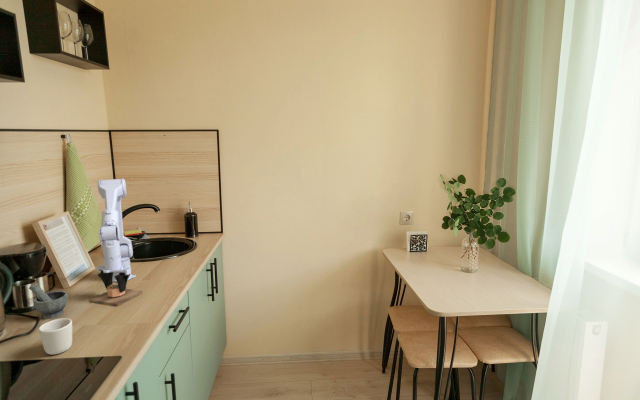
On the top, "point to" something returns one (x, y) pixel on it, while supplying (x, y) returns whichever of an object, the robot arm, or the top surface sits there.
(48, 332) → the cup
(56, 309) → the mortar and pestle
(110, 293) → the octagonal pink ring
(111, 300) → the peg plate
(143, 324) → the top surface
